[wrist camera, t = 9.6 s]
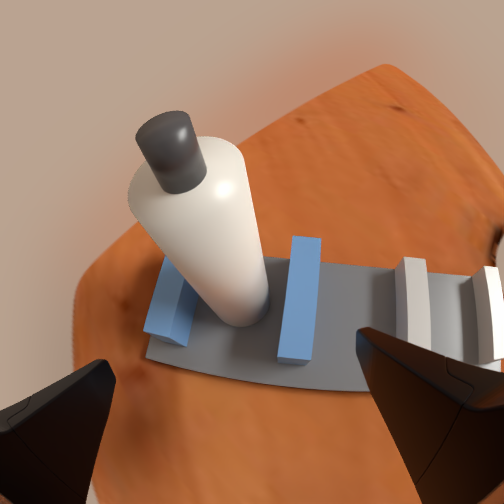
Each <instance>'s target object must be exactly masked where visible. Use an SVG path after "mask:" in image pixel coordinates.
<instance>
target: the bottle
mask: <svg viewBox="0 0 504 504" xmlns="http://www.w3.org/2000/svg"><path fill="white" fill-rule="evenodd" d="M136 142H137V144H138V146H139V147H140V149H141V151H142V153H143V155H144V157H145V159H146V161H145V162H144V163H143V164H142V165H141V166H140V168H139V169H138V170H137V172H136V173H135V175H134V177H133V179H132V181H131V183H130V186H129V190H128V203H129V207H130V209H131V211H132V213H133V214H134V216H135V217H136V218H137V220H138V221H139V222H140V224H141V225H142V226H143V227H144V229H145V230H146V231H147V233H148V234H149V235H150V236H151V238H152V239H153V240H154V241H155V243H156V244H157V245H158V246H159V248H160V249H161V250H162V251H163V253H164V254H165V255H166V256H167V258H168V259H169V260H170V261H171V262H172V264H173V265H174V266H175V267H176V268H177V270H178V271H179V272H180V273H181V274H182V276H183V277H184V278H185V279H186V280H187V282H188V283H189V284H190V285H191V286H192V287H193V289H194V290H195V291H196V292H197V293H198V294H199V295H200V297H201V298H202V299H203V300H204V301H205V302H206V303H207V305H208V306H209V307H210V308H211V309H212V310H213V311H214V312H215V313H216V315H217V316H218V317H219V318H220V319H221V320H222V321H223V322H225V323H227V324H228V325H231V326H235V327H246V326H250V325H253V324H255V323H256V322H258V321H259V320H261V319H262V318H263V317H264V315H265V314H266V312H267V311H268V308H269V305H270V291H269V286H268V281H267V275H266V270H265V265H264V259H263V254H262V249H261V244H260V239H259V233H258V228H257V223H256V218H255V213H254V208H253V203H252V198H251V193H250V188H249V183H248V178H247V173H246V168H245V163H244V158H243V156H242V154H241V152H240V151H239V149H238V148H237V147H235V146H234V145H233V144H231V143H230V142H228V141H226V140H223V139H220V138H216V137H207V136H205V137H204V136H203V137H196V135H195V132H194V129H193V126H192V123H191V120H190V117H189V115H188V114H187V113H185V112H183V111H170V112H165V113H162V114H160V115H157V116H155V117H153V118H152V119H150V120H149V121H147V122H146V123H145V124H143V126H141V127H140V129H139V130H138V132H137V134H136Z"/></svg>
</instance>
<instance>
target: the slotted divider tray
mask: <svg viewBox="0 0 504 504" xmlns="http://www.w3.org/2000/svg"><path fill="white" fill-rule="evenodd" d="M320 251H321V238H312V237H302V236H293V238H292V248H291V257H290V259H285V258H274V257H264V256H263V259H264V265H265V270H266V275H267V281H268V286H269V291H270V305H269V308H268V311H267V312H266V314H265V315H264V317H263V318H262V319H261V320H259V321H258V322H256V323H255V324H253V325H250V326H246V327H235V326H231V325H228V324H227V323H225V322H223V321H222V320H221V319H220V318H219V317H218V316H217V315H216V313H215V312H214V311H213V310H212V309H211V308H210V307H209V306H208V305H207V303H206V302H205V301H204V300H203V299H202V298H201V297H200V295H199V294H198V293H197V292H196V291H195V290H194V289H193V287H192V286H191V285H190V284H189V283H188V282H187V280H186V279H185V278H184V277H183V276H182V274H181V273H180V272H179V271H178V270H177V268H176V267H175V266H174V265H173V264H172V262H171V261H170V260H169V259H168V258H167V256H166V255H165V258H164V261H163V264H162V267H161V270H160V274H159V277H158V280H157V283H156V286H155V290H154V293H153V297H152V300H151V303H150V307H149V310H148V314H147V318H146V321H145V325H144V329H143V331H144V332H146V333H148V334H150V335H151V336H150V340H149V345H148V349H147V353H146V357H145V358H147V359H151V360H154V361H158V362H161V363H165V364H169V365H172V366H176V367H180V368H184V369H189V370H193V371H197V372H202V373H206V374H211V375H216V376H221V377H226V378H231V379H237V380H243V381H249V382H256V383H262V384H270V385H277V386H286V387H295V388H306V389H318V390H334V391H370V390H369V388H368V386H367V383H366V380H365V377H364V374H363V372H362V369H361V366H360V363H359V361H358V358H357V355H356V331H357V329H360V328H364V327H371V328H373V329H376V330H378V331H381V332H383V333H386V334H388V335H391V336H394V337H396V338H399V339H401V340H404V341H407V342H409V343H412V344H414V345H417V346H420V347H422V348H425V349H428V350H430V351H433V352H436V353H438V354H441V355H444V356H445V358H446V357H450V358H452V359H455V360H458V361H461V362H464V363H467V364H470V365H474V366H478V367H482V368H486V369H490V370H494V371H498V372H500V363H501V361H500V360H502V359H504V301H503V294H502V288H501V282H500V277H499V272H498V268H497V267H489V266H484V267H482V268H481V269H480V270H479V271H478V272H477V273H475V274H474V275H473V276H472V277H471V276H461V275H450V274H439V273H429V272H427V269H426V262H425V259H420V258H411V257H403V259H402V260H401V261H400V263H399V264H398V265H397V267H396V268H395V269H387V268H376V267H366V266H356V265H345V264H335V263H325V262H320Z"/></svg>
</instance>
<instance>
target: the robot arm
mask: <svg viewBox="0 0 504 504" xmlns="http://www.w3.org/2000/svg"><path fill="white" fill-rule="evenodd" d="M356 355H357V358H358V361H359V363H360V366H361V369H362V372H363V374H364V377H365V380H366V383H367V386H368V388H369V390H370V393H371V395H372V397H373V399H374V401H375V403H376V405H377V407H378V409H379V411H380V413H381V415H382V417H383V419H384V421H385V423H386V425H387V427H388V429H389V431H390V433H391V435H392V437H393V439H394V441H395V444H396V446H397V448H398V450H399V452H400V454H401V456H402V459H403V461H404V463H405V465H406V467H407V470H408V472H409V474H410V476H411V478H412V481H413V483H414V485H415V488H416V490H417V493H418V495H419V497H420V500H421V502H422V504H504V373H503V372H498V371H494V370H490V369H486V368H482V367H478V366H474V365H470V364H467V363H464V362H461V361H458V360H455V359H452V358H450V357H446V358H445V356H444V355H441V354H438V353H436V352H433V351H430V350H428V349H425V348H422V347H420V346H417V345H414V344H412V343H409V342H407V341H404V340H401V339H399V338H396V337H394V336H391V335H388V334H386V333H383V332H381V331H378V330H376V329H373V328H371V327H364V328H360V329H357V331H356ZM115 384H116V378H115V375H114V373H113V371H112V369H111V367H110V365H109V363H108V361H107V360H105V359H97V360H95V361H93V362H91V363H89V364H88V365H86V366H84V367H82V368H80V369H79V370H77V371H75V372H73V373H71V374H70V375H68V376H66V377H64V378H63V379H61V380H59V381H57V382H55V383H53V384H51V385H50V386H48V387H46V388H44V389H42V390H40V391H39V392H37V393H35V394H33V395H32V396H30V397H27V398H26V399H24V400H22V401H20V402H18V403H16V404H14V405H12V406H10V407H7V408H6V409H3V410H1V411H0V504H86V500H87V494H88V490H89V486H90V481H91V477H92V473H93V469H94V465H95V461H96V457H97V453H98V450H99V446H100V443H101V439H102V436H103V432H104V429H105V426H106V422H107V419H108V416H109V412H110V407H111V402H112V398H113V393H114V388H115Z"/></svg>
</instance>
